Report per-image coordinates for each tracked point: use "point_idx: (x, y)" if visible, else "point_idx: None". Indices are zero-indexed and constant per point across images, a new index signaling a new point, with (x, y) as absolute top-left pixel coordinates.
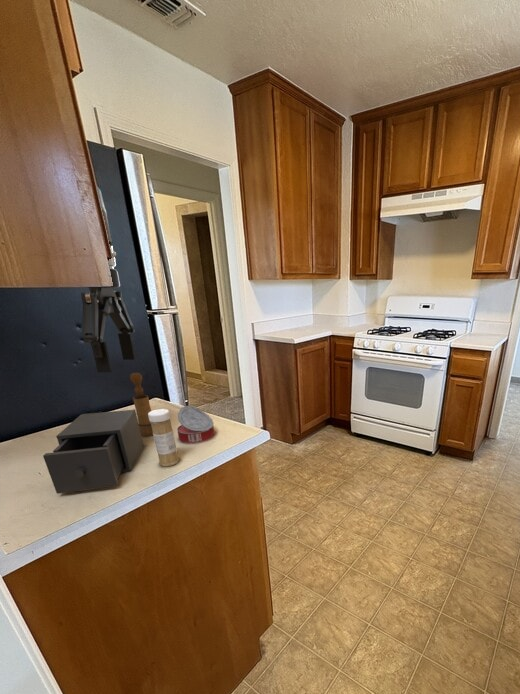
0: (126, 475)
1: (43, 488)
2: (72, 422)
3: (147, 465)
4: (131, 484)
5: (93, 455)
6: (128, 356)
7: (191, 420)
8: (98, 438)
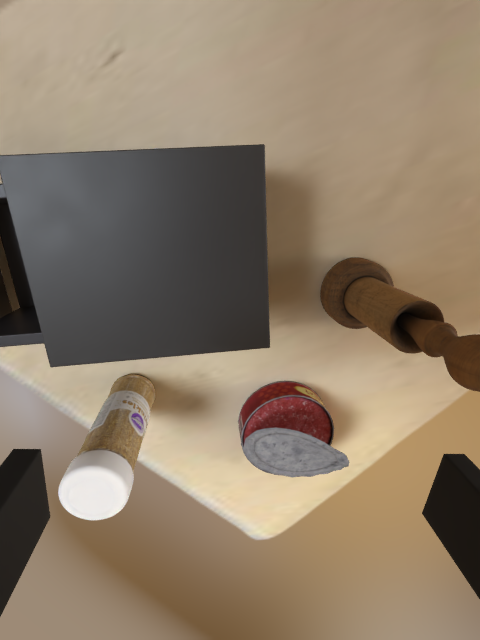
0: None
1: (18, 119)
2: (155, 152)
3: None
4: None
5: None
6: (447, 506)
7: (285, 447)
8: None
